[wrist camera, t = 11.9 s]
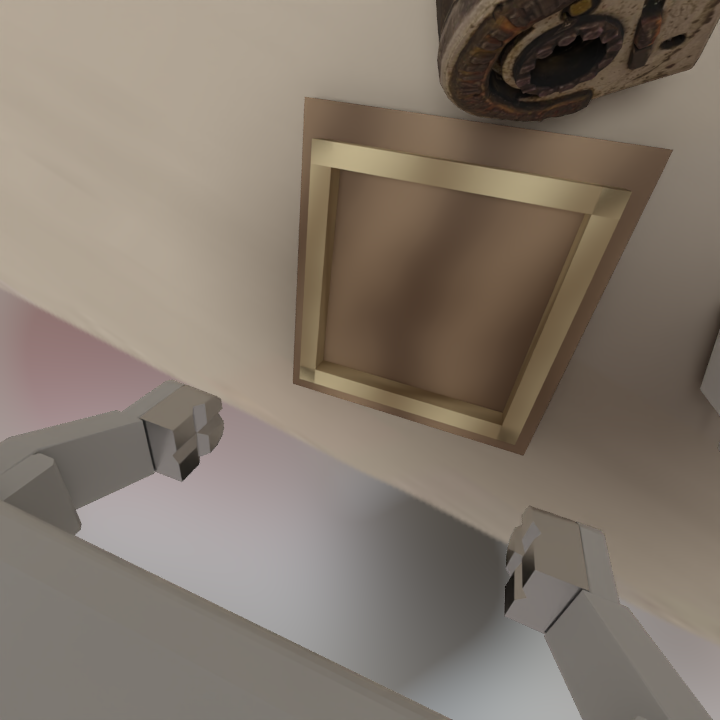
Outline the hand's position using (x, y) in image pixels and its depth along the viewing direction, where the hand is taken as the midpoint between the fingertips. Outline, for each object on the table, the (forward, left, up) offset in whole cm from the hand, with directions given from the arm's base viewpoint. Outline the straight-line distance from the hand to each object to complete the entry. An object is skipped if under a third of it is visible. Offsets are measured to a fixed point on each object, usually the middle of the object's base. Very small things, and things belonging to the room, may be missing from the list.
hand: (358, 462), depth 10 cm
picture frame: (0, 0, -13) cm, 13 cm away
